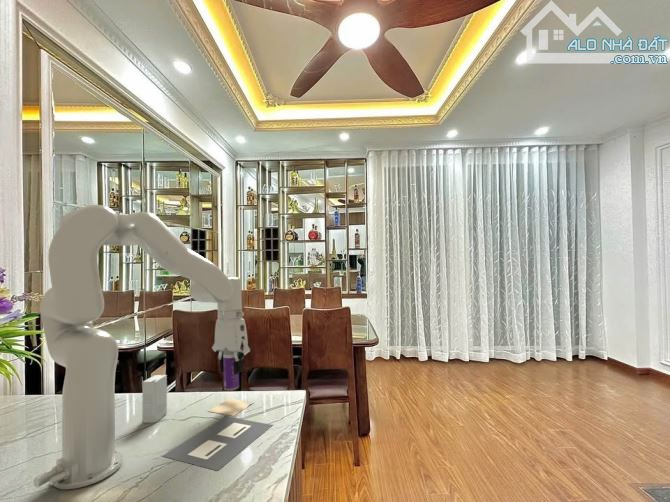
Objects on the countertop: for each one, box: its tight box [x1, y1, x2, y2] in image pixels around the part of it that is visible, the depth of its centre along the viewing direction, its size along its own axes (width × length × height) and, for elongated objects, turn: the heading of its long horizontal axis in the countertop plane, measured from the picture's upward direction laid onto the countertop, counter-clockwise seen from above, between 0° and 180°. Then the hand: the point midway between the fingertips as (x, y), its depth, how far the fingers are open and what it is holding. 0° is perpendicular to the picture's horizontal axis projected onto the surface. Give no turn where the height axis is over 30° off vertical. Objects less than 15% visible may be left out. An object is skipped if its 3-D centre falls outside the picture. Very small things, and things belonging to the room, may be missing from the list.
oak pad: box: [207, 398, 251, 417], centre depth 106 cm, size 10×10×1 cm
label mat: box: [162, 415, 273, 472], centre depth 86 cm, size 22×17×1 cm
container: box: [223, 347, 240, 391], centre depth 107 cm, size 5×5×15 cm
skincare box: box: [141, 374, 168, 424], centre depth 100 cm, size 6×4×12 cm
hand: (231, 371), depth 107 cm, fingers closed on container, 4 cm apart
